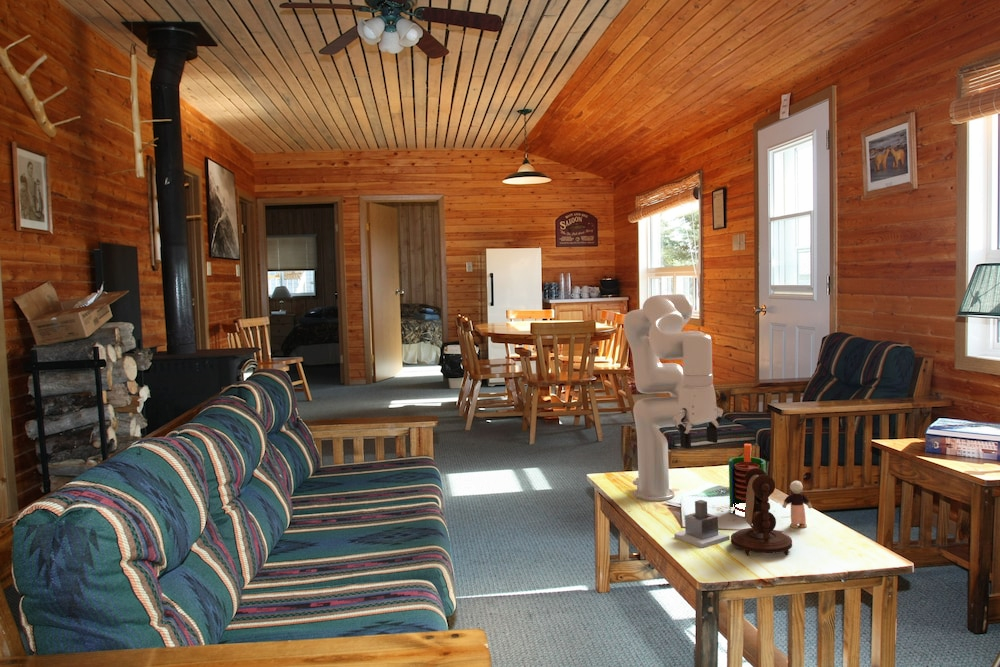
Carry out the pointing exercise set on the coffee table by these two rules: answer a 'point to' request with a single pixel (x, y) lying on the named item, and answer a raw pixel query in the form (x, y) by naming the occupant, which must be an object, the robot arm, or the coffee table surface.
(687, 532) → the grey square holed block
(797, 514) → the grandmother figurine
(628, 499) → the coffee table surface
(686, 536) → the shaft block
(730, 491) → the motor
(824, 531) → the coffee table surface
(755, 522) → the dark brown upright piece
